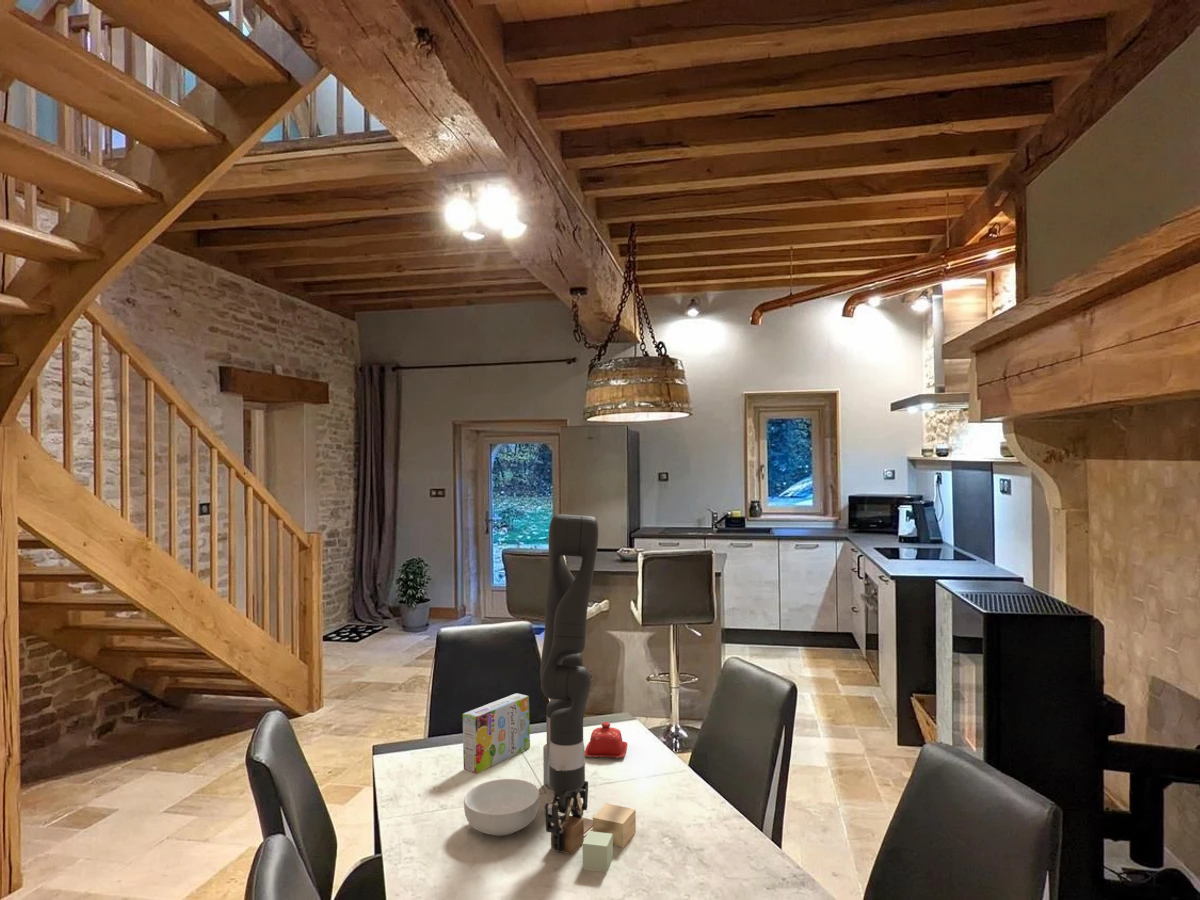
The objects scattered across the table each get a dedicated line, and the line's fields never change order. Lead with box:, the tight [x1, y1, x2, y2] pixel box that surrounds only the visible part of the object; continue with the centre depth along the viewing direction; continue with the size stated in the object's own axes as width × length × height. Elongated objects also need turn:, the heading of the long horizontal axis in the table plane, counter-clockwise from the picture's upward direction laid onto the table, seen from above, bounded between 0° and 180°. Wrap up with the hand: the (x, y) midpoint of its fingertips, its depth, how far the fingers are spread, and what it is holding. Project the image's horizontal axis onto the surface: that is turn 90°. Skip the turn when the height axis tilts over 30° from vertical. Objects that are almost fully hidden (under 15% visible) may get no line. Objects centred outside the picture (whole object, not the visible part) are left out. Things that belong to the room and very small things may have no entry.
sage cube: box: [581, 830, 614, 873], centre depth 139 cm, size 5×5×5 cm
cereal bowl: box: [463, 778, 540, 837], centre depth 154 cm, size 17×17×7 cm
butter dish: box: [584, 721, 628, 759], centre depth 195 cm, size 12×12×8 cm
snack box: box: [462, 692, 531, 774], centre depth 192 cm, size 21×6×15 cm, turn 144°
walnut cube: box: [550, 813, 585, 855], centre depth 146 cm, size 5×5×5 cm
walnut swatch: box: [581, 816, 593, 838], centre depth 154 cm, size 7×7×1 cm
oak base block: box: [592, 803, 637, 848], centre depth 149 cm, size 7×7×5 cm
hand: (567, 841), depth 146 cm, fingers open, 6 cm apart
